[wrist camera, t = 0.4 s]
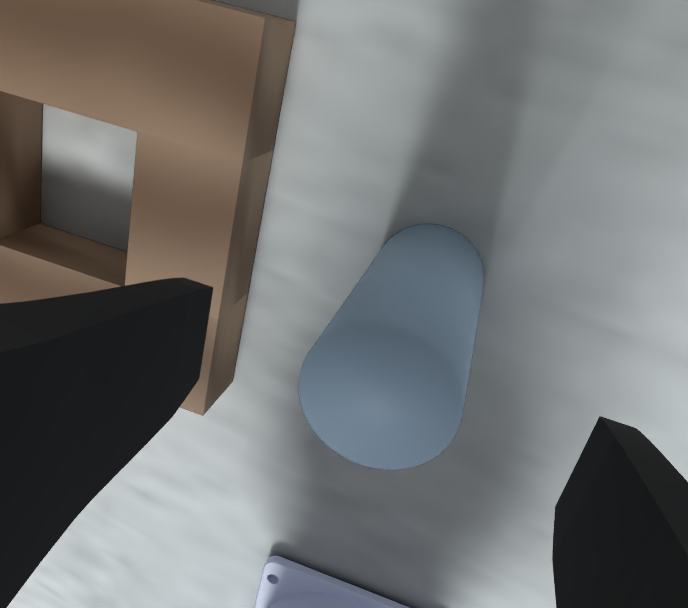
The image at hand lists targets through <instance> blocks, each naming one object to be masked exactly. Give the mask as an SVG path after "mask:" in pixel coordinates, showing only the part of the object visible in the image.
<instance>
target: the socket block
mask: <svg viewBox="0 0 688 608" xmlns="http://www.w3.org/2000/svg"><path fill="white" fill-rule="evenodd" d="M295 25H296V22H294V21H290V20H287V19H283V18H279V17H275V16H271V15H267V14H263V13H260V12H256V11H252V10H248V9H244V8H240V7H236V6H233V5H229V4H225V3H221V2H217V1H213V0H0V304H2V303H13V302H23V301H32V300H39V299H46V298H53V297H60V296H67V295H73V294H80V293H87V292H93V291H98V290H104V289H109V288H115V287H120V286H126V285H131V284H137V283H142V282H148V281H154V280H161V279H168V278H183V277H184V278H187V279H190V280H193V281H196V282H199V283H202V284H205V285H208V286H211V287H214V288H213V294H212V300H211V307H210V313H209V320H208V326H207V333H206V339H205V345H204V352H203V358H202V365H201V371H200V378H199V380H198V382H197V383H196V385H195V386H194V387H193V389H192V390H191V392H190V393H189V395H188V396H187V397H186V399H185V400H184V402H183V403H182V404H181V406H180V408H183V409H186V410H189V411H191V412H194V413H197V414H200V415H202V416H203V415H204V414H205V413H206V412H207V410H208V409H209V408H210V407H211V406H212V405H213V404H214V402H215V401H216V400H217V399H218V398H219V397H220V396H221V394H222V393H223V392H224V391H225V390H226V389H227V387H228V386H229V385H230V384H231V383H232V382H233V376H234V371H235V365H236V359H237V354H238V348H239V342H240V337H241V331H242V325H243V320H244V314H245V308H246V302H247V297H248V291H249V285H250V280H251V274H252V268H253V263H254V257H255V251H256V246H257V240H258V234H259V229H260V223H261V217H262V212H263V206H264V200H265V195H266V189H267V183H268V178H269V172H270V166H271V161H272V155H273V149H274V144H275V138H276V132H277V127H278V121H279V115H280V110H281V104H282V98H283V93H284V87H285V81H286V76H287V70H288V64H289V59H290V53H291V47H292V42H293V36H294V30H295ZM42 103H43V104H46V105H50V106H53V107H56V108H60V109H63V110H66V111H70V112H73V113H77V114H80V115H83V116H87V117H90V118H93V119H97V120H100V121H103V122H107V123H110V124H113V125H117V126H120V127H123V128H127V129H130V130H134V131H137V143H136V155H135V167H134V179H133V192H132V204H131V216H130V228H129V241H128V252H125V251H122V250H119V249H116V248H113V247H110V246H107V245H104V244H101V243H98V242H95V241H92V240H88V239H85V238H82V237H79V236H76V235H73V234H70V233H67V232H64V231H61V230H58V229H55V228H52V227H49V226H46V225H43V224H40V207H41V146H42Z"/></svg>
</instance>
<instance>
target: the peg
mask: <svg viewBox="0 0 688 608" xmlns="http://www.w3.org/2000/svg"><path fill="white" fill-rule="evenodd" d="M483 287H484V268H483V264H482V261H481V258H480V256H479V254H478V252H477V251H476V249H475V247H474V246H473V245H472V244H471V243H470V241H468V240H467V239H466V238H465V237H464V236H463V235H461V234H460V233H458V232H456V231H455V230H453V229H450V228H448V227H445V226H441V225H436V224H419V225H414V226H411V227H407V228H405V229H403V230H401V231H399V232H398V233H396V234H395V235H394V236H392V237H391V238H390V239H389V240H388V241H387V242H386V243H385V245H384V246H383V248H382V249H381V251H380V252H379V253H378V255H377V256H376V258H375V259H374V261H373V262H372V263H371V265H370V266H369V268H368V269H367V270H366V272H365V273H364V275H363V276H362V278H361V279H360V280H359V282H358V283H357V285H356V286H355V288H354V289H353V290H352V292H351V293H350V295H349V296H348V297H347V299H346V300H345V302H344V303H343V305H342V306H341V307H340V309H339V310H338V312H337V313H336V315H335V316H334V317H333V319H332V320H331V322H330V323H329V324H328V326H327V327H326V329H325V330H324V332H323V333H322V334H321V336H320V337H319V339H318V340H317V342H316V343H315V344H314V346H313V347H312V349H311V350H310V351H309V353H308V354H307V356H306V358H305V360H304V362H303V364H302V368H301V371H300V376H299V398H300V403H301V406H302V410H303V412H304V415H305V417H306V419H307V421H308V423H309V424H310V426H311V428H312V429H313V430H314V432H315V433H316V434H317V436H318V437H319V438H320V439H321V440H322V441H323V442H324V443H325V444H326V445H327V446H329V447H330V448H331V449H332V450H334V451H335V452H336V453H338V454H339V455H341V456H343V457H345V458H346V459H348V460H350V461H353V462H355V463H357V464H360V465H363V466H367V467H371V468H376V469H384V470H400V469H407V468H412V467H415V466H419V465H421V464H424V463H426V462H428V461H430V460H432V459H433V458H435V457H436V456H438V455H439V454H440V453H441V452H443V451H444V450H445V449H446V448H447V447H448V446H449V444H450V443H451V442H452V440H453V439H454V437H455V436H456V433H457V431H458V429H459V427H460V423H461V420H462V415H463V409H464V403H465V397H466V391H467V385H468V378H469V372H470V366H471V360H472V354H473V348H474V342H475V336H476V330H477V324H478V318H479V312H480V306H481V300H482V294H483Z"/></svg>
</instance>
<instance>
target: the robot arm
mask: <svg viewBox="0 0 688 608" xmlns="http://www.w3.org/2000/svg"><path fill="white" fill-rule="evenodd" d="M213 288H214V287H211V286H208V285H205V284H202V283H199V282H196V281H193V280H190V279H187V278H184V277H183V278H168V279H161V280H154V281H148V282H142V283H137V284H131V285H126V286H120V287H115V288H109V289H104V290H98V291H93V292H87V293H80V294H73V295H67V296H60V297H53V298H46V299H39V300H32V301H23V302H13V303H2V304H0V608H6V607H7V606H8V605H9V603H10V602H11V601H12V599H13V598H14V597H15V595H16V594H17V593H18V591H19V590H20V589H21V587H22V586H23V585H24V583H25V582H26V581H27V579H28V578H29V577H30V575H31V574H32V573H33V571H34V570H35V569H36V567H37V566H38V565H39V563H40V562H41V561H42V560H43V558H44V557H45V556H46V555H47V553H48V552H49V551H50V549H51V548H52V547H53V546H54V544H55V543H56V542H57V541H58V539H59V538H60V537H61V536H62V534H63V533H64V532H65V530H66V529H67V528H68V527H69V525H70V524H71V523H72V522H73V520H74V519H75V518H76V517H77V516H78V514H79V513H80V512H81V511H82V510H83V509H84V508H85V507H86V506H87V504H88V503H89V502H90V501H91V500H92V499H93V498H94V497H95V496H96V495H97V494H98V493H99V492H100V491H101V490H102V489H103V488H104V487H105V486H106V485H107V484H108V483H109V481H110V480H111V479H112V478H113V477H114V476H115V475H116V474H117V473H118V472H119V471H120V470H121V469H122V468H123V467H124V466H125V465H126V464H127V463H128V462H129V461H130V460H131V459H132V458H133V457H134V456H135V455H136V454H137V453H138V452H139V451H140V450H141V449H142V448H143V447H144V446H145V445H146V444H147V443H148V442H149V441H150V440H151V439H152V438H153V437H154V436H155V434H156V433H157V432H158V431H159V430H160V429H161V428H162V427H163V426H164V425H165V424H166V423H167V422H168V421H169V420H170V419H171V418H172V416H173V415H174V414H175V412H176V411H177V410H178V408H179V407H180V406H181V404H182V403H183V402H184V400H185V399H186V397H187V396H188V395H189V393H190V392H191V390H192V389H193V387H194V386H195V385H196V383H197V382H198V380H199V378H200V371H201V365H202V358H203V352H204V345H205V339H206V333H207V326H208V320H209V313H210V307H211V300H212V294H213ZM552 559H553V572H554V584H555V595H556V607H557V608H688V482H687V481H686V480H685V479H684V477H683V476H682V475H681V474H680V473H679V472H678V471H677V470H676V469H675V468H674V466H673V465H672V464H671V463H670V462H669V461H668V460H667V459H666V458H665V456H664V455H663V454H662V453H661V452H660V451H659V450H658V449H657V448H656V447H655V446H654V445H653V444H652V443H651V442H650V441H649V440H648V439H647V438H646V437H645V436H644V435H643V434H642V433H641V432H640V431H639V430H638V429H636V428H634V427H631V426H628V425H625V424H622V423H619V422H616V421H613V420H610V419H607V418H604V417H601V416H600V417H599V419H598V421H597V423H596V425H595V427H594V429H593V431H592V433H591V435H590V437H589V439H588V441H587V443H586V445H585V447H584V449H583V451H582V453H581V455H580V458H579V460H578V462H577V464H576V466H575V468H574V470H573V472H572V474H571V476H570V478H569V480H568V482H567V484H566V486H565V488H564V490H563V492H562V494H561V496H560V498H559V500H558V502H557V504H556V506H555V520H554V534H553V557H552ZM272 574H273V575H275V576H277V577H275V576H273V575H272ZM254 608H410V607H407V606H405V605H402V604H399V603H397V602H394V601H392V600H389V599H387V598H384V597H382V596H379V595H377V594H374V593H371V592H369V591H366V590H364V589H361V588H359V587H356V586H354V585H351V584H348V583H346V582H343V581H341V580H338V579H336V578H333V577H331V576H328V575H326V574H323V573H320V572H318V571H315V570H313V569H310V568H308V567H305V566H303V565H300V564H298V563H295V562H292V561H290V560H287V559H285V558H282V557H280V556H271V557H269V558H268V559H267V561H266V563H265V565H264V569H263V573H262V578H261V582H260V586H259V590H258V594H257V599H256V603H255V607H254Z"/></svg>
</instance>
